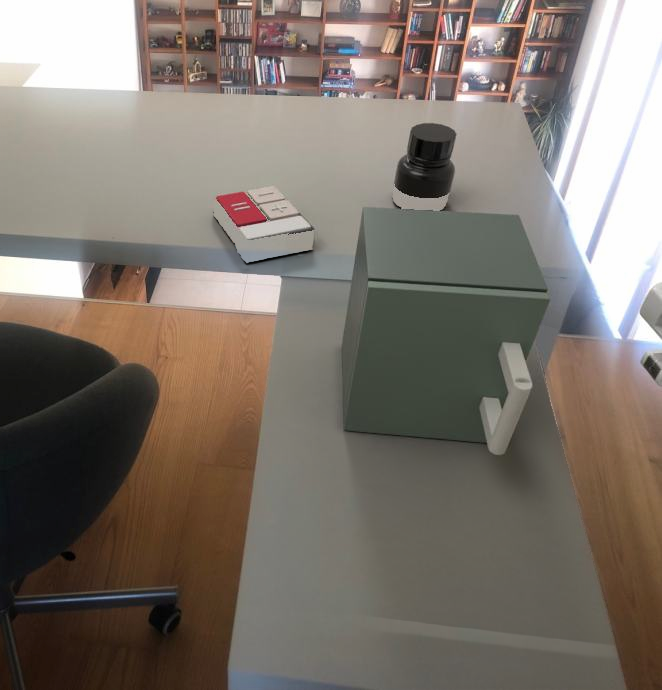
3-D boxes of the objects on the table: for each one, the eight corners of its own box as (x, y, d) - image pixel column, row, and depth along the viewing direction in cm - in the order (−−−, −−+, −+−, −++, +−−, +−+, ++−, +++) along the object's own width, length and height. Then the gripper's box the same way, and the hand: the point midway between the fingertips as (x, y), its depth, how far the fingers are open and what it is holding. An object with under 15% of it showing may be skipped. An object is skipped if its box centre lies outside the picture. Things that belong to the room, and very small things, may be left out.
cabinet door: (504, 491, 70) (569, 345, 57) (344, 476, 72) (371, 331, 59) (491, 436, 75) (548, 292, 62) (343, 423, 77) (367, 280, 64)
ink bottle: (445, 189, 116) (461, 120, 108) (453, 217, 110) (471, 146, 102) (386, 187, 117) (397, 119, 109) (391, 214, 111) (404, 144, 103)
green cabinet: (491, 436, 76) (548, 289, 62) (343, 423, 77) (367, 277, 64) (472, 356, 85) (519, 214, 72) (341, 346, 87) (362, 206, 74)
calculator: (275, 182, 112) (316, 224, 100) (275, 206, 114) (314, 250, 103) (211, 194, 109) (245, 238, 98) (212, 218, 112) (245, 264, 101)
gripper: (870, 472, 56) (706, 484, 56) (713, 314, 72) (584, 323, 71) (922, 420, 52) (745, 433, 52) (744, 264, 68) (606, 273, 67)
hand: (651, 368), depth 62 cm, fingers closed
